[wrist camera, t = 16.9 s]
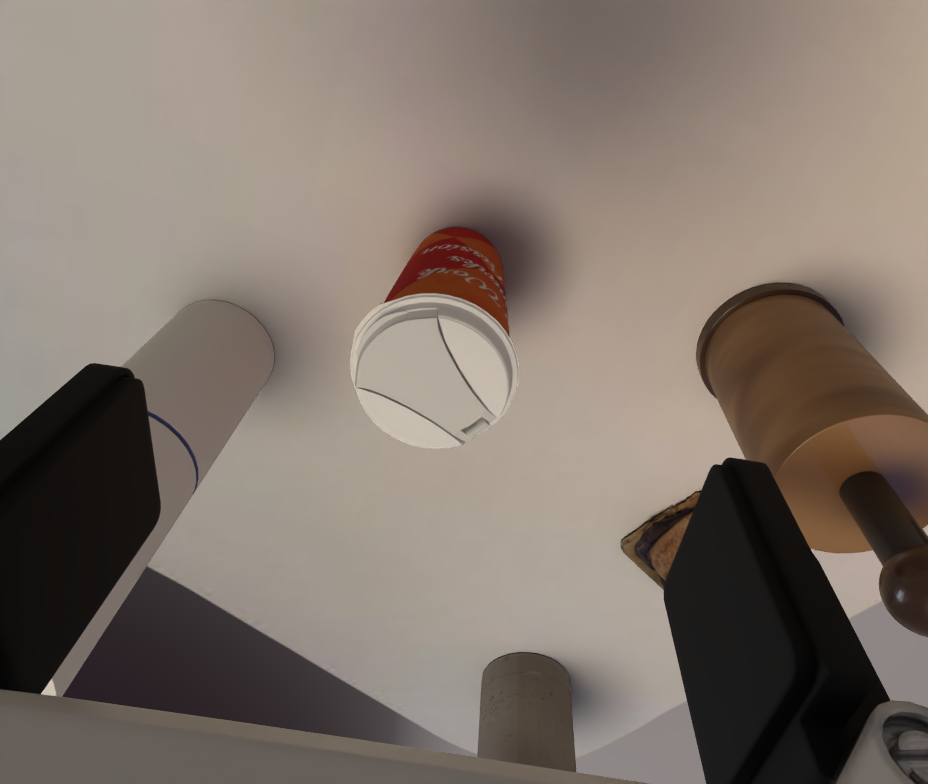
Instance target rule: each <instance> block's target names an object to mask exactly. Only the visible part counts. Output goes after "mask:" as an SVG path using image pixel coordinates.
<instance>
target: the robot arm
mask: <svg viewBox="0 0 928 784" xmlns="http://www.w3.org/2000/svg"><path fill="white" fill-rule="evenodd" d="M160 511H161V501H160V494H159V487H158V480H157V473H156V466H155V459H154V452H153V445H152V438H151V431H150V424H149V417H148V410H147V403H146V396H145V389H144V385H143V382H142V381H141V380H140V379H137V378H135V377H134V374H133V373H132V371H131V370H130V369H128V368H123V367H116V366H109V365H103V364H96V363H93V364H89V365H87V366H85V367H84V368H83V369H82V370H81V371H80V372H79V373H77V374H76V375H75V376H74V377H73V378H72V379H71V380H69V381H68V382H67V383H66V384H65V385H64V386H62V387H61V388H60V389H59V390H58V391H57V392H56V393H54V394H53V395H52V396H51V397H50V398H49V399H47V400H46V401H45V402H44V403H43V404H42V405H41V406H39V407H38V408H37V409H36V410H35V411H34V412H32V413H31V414H30V415H29V416H28V417H27V418H26V419H24V420H23V421H22V422H21V423H20V424H19V425H17V426H16V427H15V428H14V429H13V430H12V431H11V432H9V433H8V434H7V435H6V436H5V437H4V438H2V439H1V440H0V784H647V783H641V782H635V781H629V780H622V779H616V778H609V777H603V776H596V775H589V774H583V773H577V772H570V771H564V770H557V769H551V768H544V767H537V766H531V765H524V764H518V763H511V762H505V761H498V760H492V759H485V758H479V757H471V756H465V755H459V754H452V753H445V752H439V751H432V750H425V749H418V748H411V747H405V746H398V745H391V744H385V743H377V742H371V741H365V740H358V739H351V738H344V737H337V736H330V735H324V734H317V733H310V732H303V731H296V730H290V729H282V728H275V727H269V726H262V725H255V724H248V723H241V722H235V721H228V720H221V719H214V718H206V717H199V716H193V715H185V714H178V713H171V712H164V711H157V710H150V709H143V708H136V707H129V706H121V705H115V704H108V703H101V702H94V701H87V700H79V699H73V698H72V699H71V698H65V697H58V696H50V695H42V694H41V693H42V692H43V691H44V689H45V688H46V686H47V685H48V683H49V682H50V680H51V679H52V677H53V676H54V674H55V673H56V671H57V670H58V668H59V667H60V666H61V664H62V663H63V661H64V660H65V658H66V657H67V655H68V654H69V652H70V651H71V649H72V648H73V646H74V645H75V644H76V642H77V641H78V639H79V638H80V636H81V635H82V633H83V632H84V630H85V629H86V627H87V626H88V624H89V623H90V622H91V620H92V619H93V617H94V616H95V614H96V613H97V611H98V610H99V608H100V607H101V605H102V604H103V602H104V601H105V600H106V598H107V597H108V595H109V594H110V592H111V591H112V589H113V588H114V586H115V585H116V583H117V582H118V580H119V579H120V577H121V576H122V575H123V573H124V572H125V570H126V569H127V567H128V566H129V564H130V563H131V561H132V560H133V558H134V557H135V555H136V554H137V553H138V551H139V550H140V548H141V547H142V545H143V544H144V542H145V541H146V539H147V538H148V536H149V535H150V533H151V532H152V531H153V529H154V528H155V526H156V524H157V522H158V519H159V516H160ZM664 602H665V606H666V611H667V615H668V619H669V624H670V628H671V632H672V637H673V641H674V645H675V650H676V654H677V658H678V663H679V667H680V671H681V676H682V680H683V684H684V689H685V693H686V697H687V702H688V706H689V710H690V715H691V719H692V723H693V727H694V732H695V736H696V741H697V745H698V749H699V754H700V758H701V762H702V767H703V771H704V775H705V780H706V784H928V708H927V707H924V706H921V705H918V704H915V703H911V702H905V701H893V700H892V701H890V699H889V697H888V695H887V693H886V691H885V689H884V687H883V685H882V683H881V681H880V679H879V677H878V676H877V674H876V672H875V670H874V668H873V666H872V664H871V662H870V660H869V658H868V656H867V654H866V652H865V650H864V648H863V646H862V645H861V642H860V641H859V639H858V637H857V635H856V633H855V631H854V629H853V627H852V625H851V623H850V621H849V619H848V617H847V615H846V613H845V611H844V610H843V608H842V606H841V604H840V602H839V600H838V598H837V596H836V594H835V592H834V590H833V588H832V586H831V584H830V582H829V580H828V579H827V577H826V575H825V573H824V571H823V569H822V567H821V565H820V563H819V561H818V560H817V558H816V557H815V556H814V554H813V553H812V551H811V549H810V547H809V545H808V543H807V541H806V539H805V537H804V535H803V533H802V532H801V530H800V528H799V526H798V524H797V522H796V520H795V518H794V516H793V514H792V512H791V510H790V508H789V506H788V504H787V502H786V500H785V498H784V496H783V494H782V493H781V491H780V489H779V487H778V485H777V483H776V481H775V479H774V477H773V475H772V473H771V471H770V469H769V467H768V466H767V465H766V464H765V463H763V462H756V461H750V460H743V459H736V458H727V459H726V460H725V461H724V462H723V463H722V465H713V466H712V467H711V469H710V471H709V473H708V476H707V478H706V481H705V483H704V486H703V488H702V491H701V493H700V496H699V498H698V501H697V503H696V506H695V508H694V510H693V513H692V515H691V518H690V520H689V523H688V525H687V528H686V530H685V533H684V535H683V538H682V540H681V543H680V545H679V548H678V550H677V553H676V555H675V558H674V560H673V562H672V565H671V567H670V570H669V572H668V575H667V577H666V580H665V585H664Z"/></svg>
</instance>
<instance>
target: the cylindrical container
mask: <svg viewBox="0 0 928 784" xmlns="http://www.w3.org/2000/svg"><path fill="white" fill-rule="evenodd" d="M273 366H274V349H273V345H272V342H271V340H270V337H269V335H268V334H267V332H266V330H265V329H264V327H263V326H262V325H261V324H260V323H259V322H258V321H257V320H256V319H255V318H254V317H253V316H252V315H251V314H249V313H248V312H247V311H245V310H243V309H241V308H240V307H238V306H236V305H233V304H230V303H227V302H223V301H217V300H204V301H199V302H195V303H192V304H190V305H188V306H186V307H185V308H183V309H182V310H181V311H180V312H179V313H178V314H176V315H175V316H174V317H173V318H172V319H171V320H170V321H169V322H168V323H167V324H166V325H165V326H164V327H163V328H162V329H161V330H160V331H158V332H157V333H156V334H155V335H154V336H153V337H152V338H151V339H150V340H149V341H148V342H147V343H146V344H145V345H144V346H143V347H142V348H140V349H139V350H138V351H137V352H136V353H135V354H134V355H133V356H132V357H131V358H130V359H129V360H128V361H127V362H126V363H125V364H124V365H123V366H121V367H123V368H128V369H130V370H131V371H132V373H133V374H134V377H135V378H137V379H140V380H141V381H142V382H143V385H144V389H145V396H146V403H147V410H148V417H149V424H150V431H151V438H152V445H153V452H154V459H155V466H156V473H157V480H158V487H159V494H160V501H161V511H160V516H159V519H158V522H157V524H156V526H155V528H154V529H153V531H152V532H151V533H150V535H149V536H148V538H147V539H146V541H145V542H144V544H143V545H142V547H141V548H140V550H139V551H138V553H137V554H136V555H135V557H134V558H133V560H132V561H131V563H130V564H129V566H128V567H127V569H126V570H125V572H124V573H123V575H122V576H121V577H120V579H119V580H118V582H117V583H116V585H115V586H114V588H113V589H112V591H111V592H110V594H109V595H108V597H107V598H106V600H105V601H104V602H103V604H102V605H101V607H100V608H99V610H98V611H97V613H96V614H95V616H94V617H93V619H92V620H91V622H90V623H89V624H88V626H87V627H86V629H85V630H84V632H83V633H82V635H81V636H80V638H79V639H78V641H77V642H76V644H75V645H74V646H73V648H72V649H71V651H70V652H69V654H68V655H67V657H66V658H65V660H64V661H63V663H62V664H61V666H60V667H59V668H58V670H57V671H56V673H55V674H54V676H53V677H52V679H51V680H50V682H49V683H48V685H47V686H46V688H45V689H44V691H43V692H42V693H41V694H42V695H50V696H58V697H62V696H63V694H64V693H65V691H66V689H67V688H68V686H69V685H70V683H71V682H72V680H73V679H74V677H75V676H76V674H77V672H78V671H79V669H80V668H81V666H82V665H83V663H84V662H85V660H86V659H87V657H88V656H89V654H90V652H91V651H92V649H93V648H94V646H95V645H96V643H97V641H98V640H99V638H100V637H101V635H102V634H103V632H104V631H105V629H106V628H107V626H108V625H109V623H110V622H111V620H112V618H113V617H114V615H115V614H116V612H117V611H118V609H119V608H120V606H121V605H122V603H123V602H124V600H125V598H126V597H127V595H128V594H129V592H130V591H131V589H132V588H133V586H134V585H135V583H136V582H137V580H138V578H139V577H140V575H141V574H142V572H143V571H144V569H145V568H146V566H147V565H148V563H149V561H150V560H151V558H152V557H153V555H154V554H155V552H156V551H157V549H158V548H159V546H160V545H161V543H162V541H163V540H164V538H165V537H166V535H167V534H168V532H169V531H170V529H171V528H172V526H173V524H174V523H175V521H176V520H177V518H178V517H179V515H180V514H181V512H182V511H183V509H184V507H185V506H186V504H187V503H188V501H189V500H190V498H191V497H192V495H193V494H194V492H195V491H196V489H197V487H198V486H199V484H200V483H201V481H202V480H203V478H204V477H205V475H206V474H207V472H208V471H209V469H210V467H211V466H212V464H213V463H214V461H215V460H216V458H217V457H218V455H219V454H220V452H221V451H222V449H223V447H224V446H225V444H226V443H227V441H228V440H229V438H230V437H231V435H232V434H233V432H234V430H235V429H236V427H237V426H238V424H239V423H240V421H241V420H242V418H243V417H244V415H245V413H246V412H247V410H248V409H249V407H250V406H251V404H252V403H253V401H254V400H255V398H256V397H257V395H258V393H259V392H260V390H261V389H262V387H263V386H264V384H265V383H266V381H267V380H268V378H269V376H270V374H271V372H272V370H273Z"/></svg>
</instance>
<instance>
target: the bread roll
mask: <svg viewBox="0 0 928 784" xmlns="http://www.w3.org/2000/svg"><path fill="white" fill-rule="evenodd" d="M699 496H700V493H695V494H693V495H692V497H691V498H688V499H687V501H686V503H681V504H680V505H679V506H678V505H677V506H676V507H675V508H673V506H672V507H671V508H672V510H670V511H668V510H669V509H667V510H666V511H665V513H662V514H660V515H658V516H656V519H653V520H652V521H651V522H648V523H647V524H645V525H644V526H643V527H642V528H640V529H639V530H637V531H636V532H634V533H633V534H632V535H629V536H628V537H626V538H625V539H623V541H621V549H622V550H623V552H624V553H625V554H626V555H627V556H628V557H629V558H630V559H631V560H632V561H633V562H635V563H636V565H637V566H638V567H640V568H641V569H642V570H643V571H644V572H645V573H646V574H647V575H648V576H649V577H650V578H651V579H652V580H654V581H655V582H656V583H657V584H658V585H659V586H660V587H661V588H662V589H663V590H664V585H665V580H666V577H667V575H668V572H669V570H670V567H671V565H672V562H673V560H674V558H675V555H676V553H677V550H678V548H679V545H680V543H681V540H682V538H683V535H684V533H685V530H686V528H687V525H688V523H689V520H690V518H691V515H692V513H693V510H694V508H695V506H696V503H697V501H698V498H699Z"/></svg>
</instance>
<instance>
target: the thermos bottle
mask: <svg viewBox="0 0 928 784" xmlns="http://www.w3.org/2000/svg"><path fill="white" fill-rule="evenodd" d="M477 757H479V758H485V759H492V760H498V761H505V762H511V763H518V764H524V765H531V766H537V767H544V768H551V769H557V770H564V771H570V772H576V762H575V747H574V733H573V719H572V704H571V690H570V679H569V676H568V674H567V672H566V671H565V669H564V668H563V667H562V666H561V665H560V664H559V663H557V662H555V661H554V660H552V659H550V658H547V657H545V656H541V655H537V654H530V653H516V654H510V655H506V656H503V657H500V658H498V659H496V660H495V661H493V662H492V663H491V664H489V665H488V667H487V668H486V669H485V671H484V673H483V676H482V685H481V701H480V721H479V738H478V755H477Z"/></svg>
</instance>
